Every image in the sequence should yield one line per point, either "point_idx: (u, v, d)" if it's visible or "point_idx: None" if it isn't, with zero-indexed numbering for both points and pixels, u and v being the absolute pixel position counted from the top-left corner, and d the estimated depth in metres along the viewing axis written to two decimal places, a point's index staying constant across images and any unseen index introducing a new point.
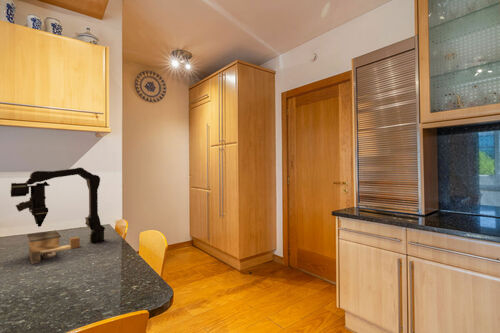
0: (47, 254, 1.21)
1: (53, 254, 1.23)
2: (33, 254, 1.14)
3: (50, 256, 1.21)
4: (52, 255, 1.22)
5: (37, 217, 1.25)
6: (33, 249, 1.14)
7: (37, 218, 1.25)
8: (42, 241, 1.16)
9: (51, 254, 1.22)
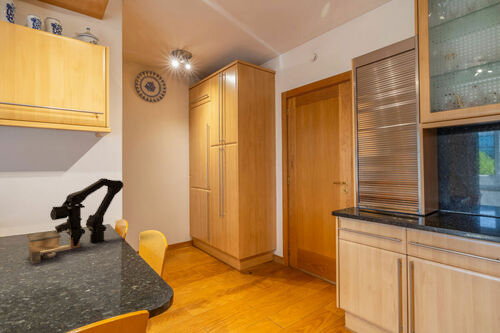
0: (47, 254, 1.21)
1: (53, 254, 1.23)
2: (33, 254, 1.14)
3: (50, 256, 1.21)
4: (52, 255, 1.22)
5: (74, 237, 1.35)
6: (33, 249, 1.14)
7: (74, 238, 1.35)
8: (42, 241, 1.16)
9: (51, 254, 1.22)
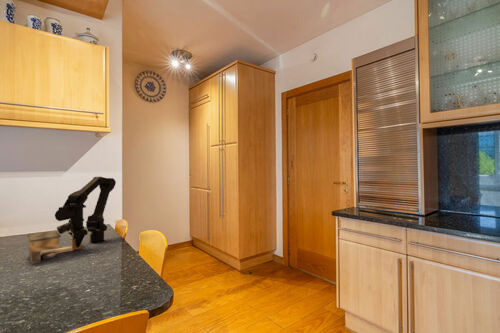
0: (47, 254, 1.20)
1: (53, 254, 1.22)
2: (33, 254, 1.14)
3: (50, 256, 1.21)
4: (52, 255, 1.22)
5: (76, 238, 1.31)
6: (33, 249, 1.14)
7: (76, 239, 1.31)
8: (42, 241, 1.16)
9: (51, 254, 1.21)
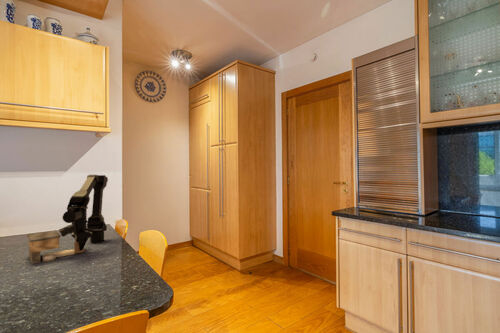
0: (46, 257, 1.16)
1: (52, 257, 1.17)
2: (33, 254, 1.14)
3: (49, 260, 1.16)
4: (51, 259, 1.17)
5: (79, 241, 1.25)
6: (33, 249, 1.14)
7: (79, 242, 1.25)
8: (42, 241, 1.16)
9: (50, 257, 1.16)
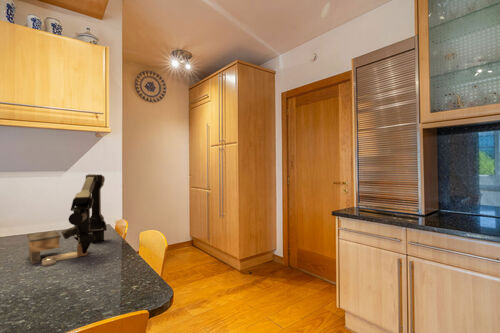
0: (44, 261, 1.11)
1: (51, 262, 1.12)
2: (33, 254, 1.14)
3: (47, 264, 1.11)
4: (50, 263, 1.12)
5: (83, 244, 1.21)
6: (33, 249, 1.14)
7: (82, 245, 1.21)
8: (42, 241, 1.16)
9: (48, 262, 1.11)
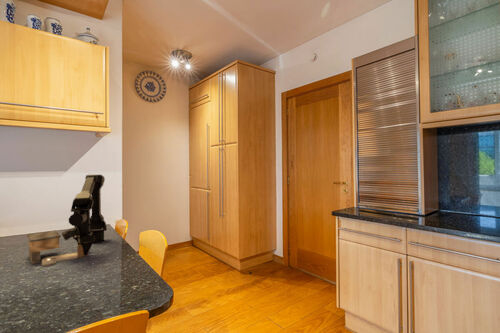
0: (44, 262, 1.11)
1: (51, 262, 1.12)
2: (33, 254, 1.14)
3: (47, 264, 1.11)
4: (49, 263, 1.12)
5: (84, 246, 1.19)
6: (33, 249, 1.14)
7: (84, 247, 1.19)
8: (42, 241, 1.16)
9: (48, 262, 1.11)
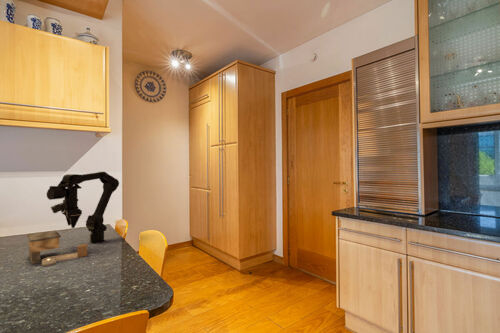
0: (44, 262, 1.11)
1: (51, 262, 1.12)
2: (33, 254, 1.14)
3: (47, 264, 1.11)
4: (49, 263, 1.12)
5: (71, 219, 1.30)
6: (33, 249, 1.14)
7: (71, 220, 1.30)
8: (42, 241, 1.16)
9: (48, 262, 1.11)
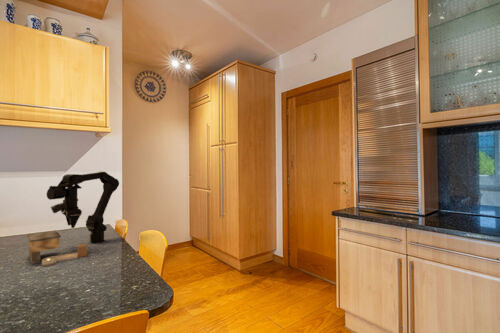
0: (44, 262, 1.11)
1: (51, 262, 1.12)
2: (33, 254, 1.14)
3: (47, 264, 1.11)
4: (49, 263, 1.12)
5: (71, 219, 1.30)
6: (33, 249, 1.14)
7: (71, 220, 1.30)
8: (42, 241, 1.16)
9: (48, 262, 1.11)
